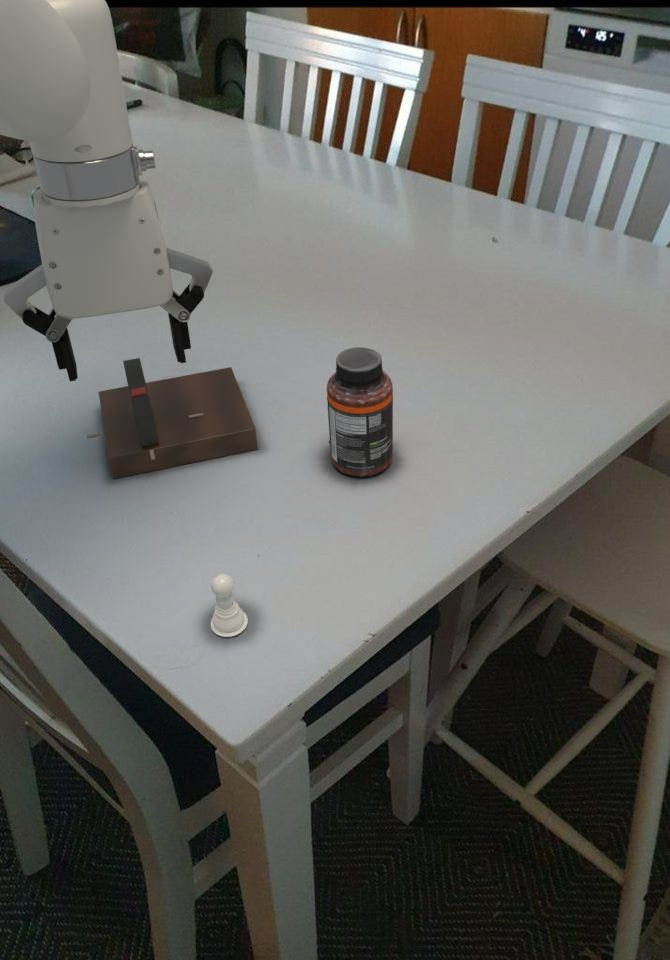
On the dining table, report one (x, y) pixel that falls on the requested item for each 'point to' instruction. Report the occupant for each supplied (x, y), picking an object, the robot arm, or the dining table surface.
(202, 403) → the panel
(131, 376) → the dark battery block
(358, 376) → the supplement bottle
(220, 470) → the dining table surface
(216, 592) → the chess pawn
